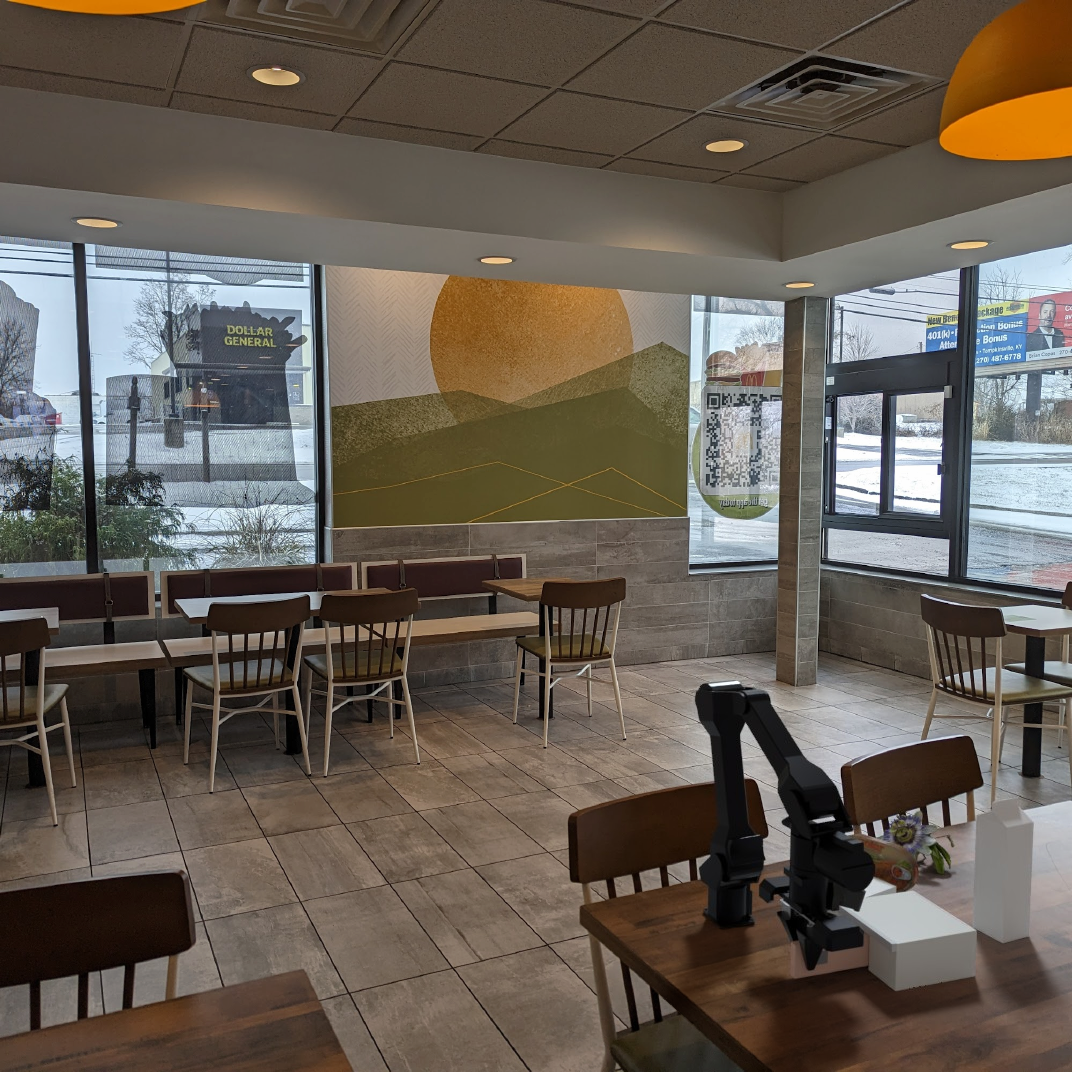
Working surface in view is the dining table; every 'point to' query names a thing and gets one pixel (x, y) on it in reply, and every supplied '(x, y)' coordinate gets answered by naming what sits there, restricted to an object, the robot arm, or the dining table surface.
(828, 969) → the pink plank
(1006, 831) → the milk
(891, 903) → the white box
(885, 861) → the tin
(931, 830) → the passion flower
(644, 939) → the dining table surface
